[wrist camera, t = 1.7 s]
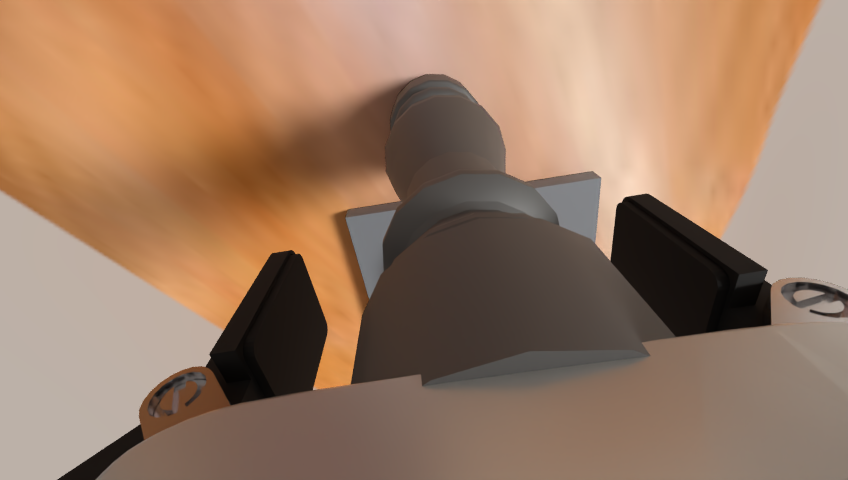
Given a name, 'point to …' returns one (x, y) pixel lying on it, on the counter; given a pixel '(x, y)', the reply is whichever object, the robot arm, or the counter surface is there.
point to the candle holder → (483, 261)
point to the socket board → (564, 194)
